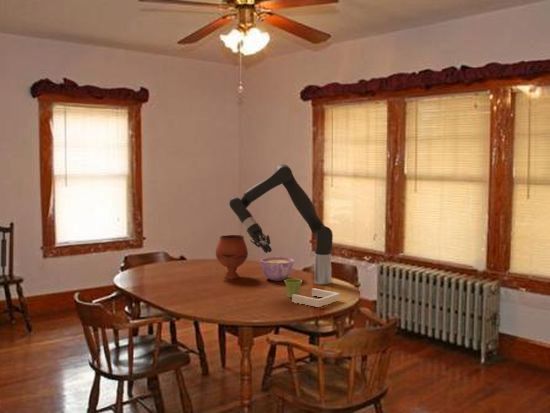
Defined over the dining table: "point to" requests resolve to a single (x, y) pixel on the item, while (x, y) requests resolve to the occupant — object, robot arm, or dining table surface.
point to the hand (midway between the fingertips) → (268, 251)
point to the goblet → (231, 253)
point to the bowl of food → (277, 267)
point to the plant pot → (292, 286)
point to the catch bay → (326, 299)
